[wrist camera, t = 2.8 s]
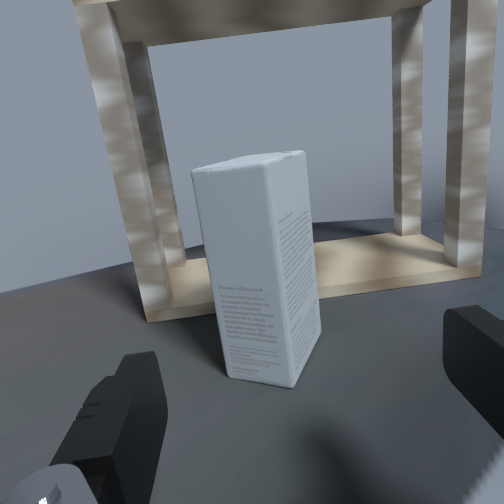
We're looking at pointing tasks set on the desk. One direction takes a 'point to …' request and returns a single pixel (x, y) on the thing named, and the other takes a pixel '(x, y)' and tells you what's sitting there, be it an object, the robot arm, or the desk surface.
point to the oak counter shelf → (329, 255)
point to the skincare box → (261, 263)
